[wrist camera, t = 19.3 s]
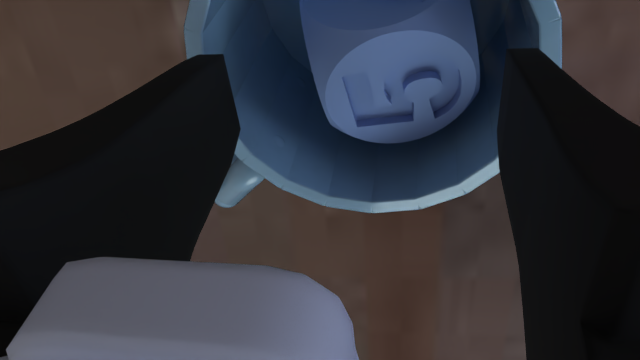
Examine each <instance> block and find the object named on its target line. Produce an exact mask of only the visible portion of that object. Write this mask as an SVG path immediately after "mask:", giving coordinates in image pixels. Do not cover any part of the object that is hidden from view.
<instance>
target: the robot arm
mask: <svg viewBox="0 0 640 360" xmlns="http://www.w3.org/2000/svg"><path fill="white" fill-rule="evenodd" d="M240 130H241V128H240V123H239V119H238V115H237V110H236V106H235V102H234V98H233V93H232V89H231V85H230V80H229V76H228V72H227V68H226V63H225V59H224V55H223V54H199V55H196V56H193V57H191V58H189V59H187V60H185V61H183V62H181V63H180V64H178V65H176V66H174V67H173V68H171V69H169V70H168V71H166V72H165V73H163V74H161V75H160V76H158V77H156V78H155V79H153V80H151V81H150V82H148V83H146V84H145V85H143V86H142V87H140V88H138V89H137V90H135V91H133V92H131V93H130V94H128V95H126V96H124V97H122V98H121V99H119V100H117V101H115V102H114V103H112V104H110V105H108V106H106V107H105V108H103V109H101V110H99V111H97V112H95V113H93V114H91V115H89V116H87V117H85V118H83V119H81V120H79V121H77V122H74V123H72V124H70V125H68V126H65V127H63V128H61V129H59V130H56V131H54V132H51V133H49V134H46V135H43V136H41V137H38V138H35V139H32V140H30V141H27V142H24V143H21V144H19V145H16V146H13V147H10V148H7V149H4V150H1V151H0V360H359V358H358V355H357V352H356V349H355V340H354V331H353V323H352V321H351V319H350V317H349V315H348V313H347V311H346V310H345V308H344V306H343V304H342V302H341V300H340V298H339V297H338V296H337V295H335V294H334V293H333V292H331V291H330V290H328V289H326V288H325V287H323V286H322V285H320V284H319V283H317V282H316V281H314V280H313V279H311V278H310V277H308V276H307V275H305V274H301V273H297V272H293V271H288V270H284V269H280V268H275V267H271V266H264V265H246V264H228V263H210V262H192V261H190V259H191V256H192V252H193V250H194V247H195V244H196V242H197V239H198V237H199V234H200V232H201V230H202V228H203V226H204V223H205V221H206V219H207V217H208V215H209V212H210V210H211V208H212V206H213V204H214V202H215V199H216V197H217V195H218V193H219V191H220V188H221V186H222V184H223V182H224V179H225V177H226V175H227V173H228V170H229V168H230V166H231V163H232V160H233V156H234V153H235V149H236V146H237V142H238V138H239V134H240ZM497 144H498V159H499V170H500V175H501V180H502V185H503V190H504V194H505V199H506V204H507V208H508V213H509V218H510V222H511V227H512V232H513V236H514V241H515V246H516V251H517V257H518V263H519V272H520V283H521V294H522V305H523V317H524V330H525V343H526V358H527V360H640V127H639V126H638V125H636V124H634V123H632V122H631V121H629V120H628V119H626V118H624V117H623V116H621V115H620V114H618V113H617V112H615V111H614V110H613V109H611V108H610V107H608V106H607V105H606V104H604V103H603V102H601V101H600V100H599V99H597V98H596V97H595V96H593V95H592V94H591V93H589V92H588V91H587V90H586V89H584V88H583V87H582V86H581V85H580V84H578V83H577V82H576V81H575V80H574V79H572V78H571V77H570V76H569V75H568V74H567V73H566V72H564V71H563V70H562V69H561V68H560V67H559V66H558V65H557V64H556V63H554V62H553V61H552V60H551V59H550V58H549V57H548V56H547V55H546V54H544V53H543V52H542V51H541V50H540V49H538V48H513V49H506V57H505V65H504V74H503V82H502V91H501V99H500V107H499V116H498V124H497Z"/></svg>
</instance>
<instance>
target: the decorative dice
mask: <svg viewBox="0 0 640 360" xmlns="http://www.w3.org/2000/svg"><path fill="white" fill-rule="evenodd" d="M299 3H300V14H301V21H302V27H303V33H304V38H305V43H306V48H307V53H308V57H309V61H310V65H311V69H312V73H313V77H314V81H315V84H316V88H317V91H318V94H319V98H320V101H321V104H322V106H323V109H324V112H325V114H326V117H327V119H328V121H329V123H330V124H331V125H332V126H333V127H335V128H336V129H338V130H340V131H341V132H343V133H345V134H347V135H349V136H352V137H355V138H358V139H361V140H365V141H369V142H374V143H402V142H408V141H413V140H417V139H420V138H423V137H426V136H428V135H431V134H433V133H435V132H437V131H439V130H440V129H442V128H444V127H445V126H447V125H448V124H450V123H451V122H452V121H453V120H455V119H456V118H457V117H458V116H459V115H460V114H461V113H462V112H463V111H465V109H466V108H467V107H468V106H469V105H470V104H471V102H472V101H473V100H474V98H475V97H476V95H477V94H478V92H479V88H480V65H479V54H478V45H477V38H476V32H475V26H474V20H473V14H472V9H471V4H470V0H299Z"/></svg>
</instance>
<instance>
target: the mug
mask: <svg viewBox="0 0 640 360" xmlns="http://www.w3.org/2000/svg"><path fill="white" fill-rule="evenodd" d="M470 4H471V9H472V14H473V20H474V26H475V32H476V38H477V45H478V54H479V65H480V88H479V92H478V94H477V95H476V97H475V98H474V100H473V101H472V102H471V104H470V105H469V106H468V107H467V108H466V109H465V111H463V112H462V113H461V114H460V115H459V116H458V117H457V118H456V119H455V120H453V121H452V122H451V123H450V124H448V125H447V126H445V127H444V128H442V129H440V130H439V131H437V132H435V133H433V134H431V135H428V136H426V137H423V138H420V139H417V140H413V141H408V142H402V143H374V142H369V141H365V140H361V139H358V138H355V137H352V136H349V135H347V134H345V133H343V132H341V131H340V130H338V129H336V128H335V127H333V126H332V125H331V124H330V123H329V121H328V119H327V117H326V114H325V112H324V109H323V106H322V104H321V101H320V98H319V94H318V91H317V88H316V84H315V81H314V77H313V73H312V69H311V65H310V61H309V57H308V53H307V48H306V43H305V38H304V33H303V27H302V21H301V14H300V3H299V0H190V2H189V6H188V10H187V15H186V19H185V23H184V37H185V46H186V54H187V59H189V58H191V57H193V56H196V55H199V54H223V55H224V59H225V63H226V68H227V72H228V76H229V80H230V85H231V89H232V93H233V98H234V102H235V106H236V110H237V115H238V119H239V123H240V128H241V130H240V134H239V138H238V142H237V146H236V149H235V153H234V156H233V160H232V163H231V166H230V168H229V170H228V173H227V175H226V177H225V179H224V182H223V184H222V186H221V188H220V191H219V193H218V195H217V197H216V199H215V203H216V204H217V205H219V206H221V207H224V208H230V207H233V206H235V205H237V204H238V203H239V202H240V201H241V200H242V199H243V198H244V197H245V196H246V195H247V194H249V193H250V192H251V191H252V190H253V189H254V188H255V187H256V186H257V185H258V184H259V183H260V182H261V181H262V180H264V179H265V178H266V179H267V180H268V181H270V182H271V183H273V184H274V185H276V186H277V187H278V188H281V189H282V190H285V191H287V192H290V193H292V194H295V195H297V196H300V197H302V198H305V199H307V200H310V201H312V202H315V203H317V204H320V205H323V206H324V205H325V206H326V207H333V208H339V209H346V210H353V211H359V212H366V213H371V212H372V213H383V212H395V211H408V210H419V209H423V208H426V207H429V206H432V205H436V204H439V203H442V202H445V201H448V200H451V199H454V198H457V197H460V196H463V195H465V194H466V193H469V192H471V191H472V190H474V189H475V188H477V187H478V186H480V185H481V184H483V183H484V182H486V181H487V180H489V179H490V178H492V177H493V176H495V175H496V174H498V173H499V172H500V170H499V159H498V144H497V124H498V116H499V107H500V99H501V91H502V82H503V74H504V65H505V57H506V49H513V48H538V49H540V50H541V51H542V52H543V53H544V54H546V55H547V56H548V57H549V58H550V59H551V60H552V61H553V62H554V63H556V64H557V65H558V66H559V67H560V68H561V69H562V18H561V13H560V10H559V8H558V5H557V3H556V0H470Z"/></svg>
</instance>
